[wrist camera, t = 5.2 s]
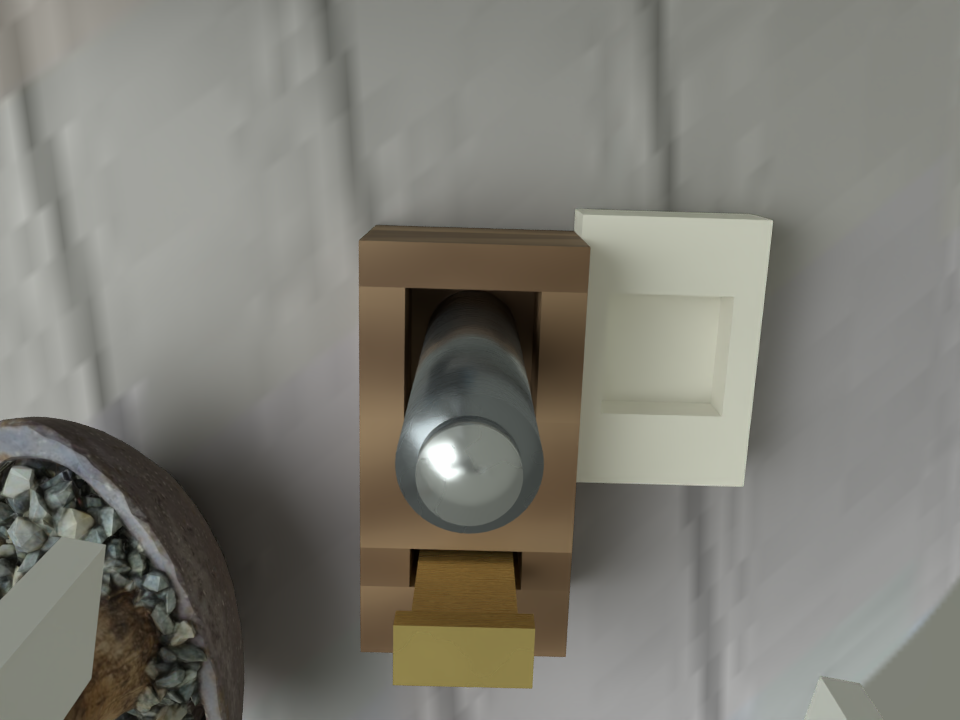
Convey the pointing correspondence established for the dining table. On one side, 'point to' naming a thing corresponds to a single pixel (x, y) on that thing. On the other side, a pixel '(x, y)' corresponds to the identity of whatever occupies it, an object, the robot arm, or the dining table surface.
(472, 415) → the grey metal cylinder
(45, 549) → the planter
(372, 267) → the socket block
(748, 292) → the block
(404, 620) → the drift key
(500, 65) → the dining table surface
